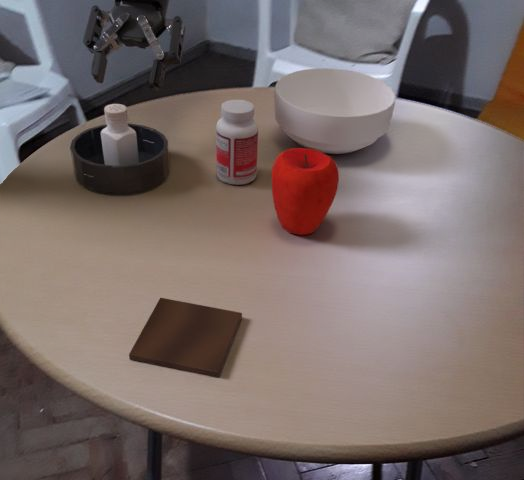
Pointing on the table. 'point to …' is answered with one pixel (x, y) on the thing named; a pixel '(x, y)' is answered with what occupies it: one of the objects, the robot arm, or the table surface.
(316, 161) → the apple
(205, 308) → the coaster
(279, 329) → the table surface
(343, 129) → the bowl
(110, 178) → the pan
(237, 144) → the pill bottle
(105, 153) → the salt shaker
